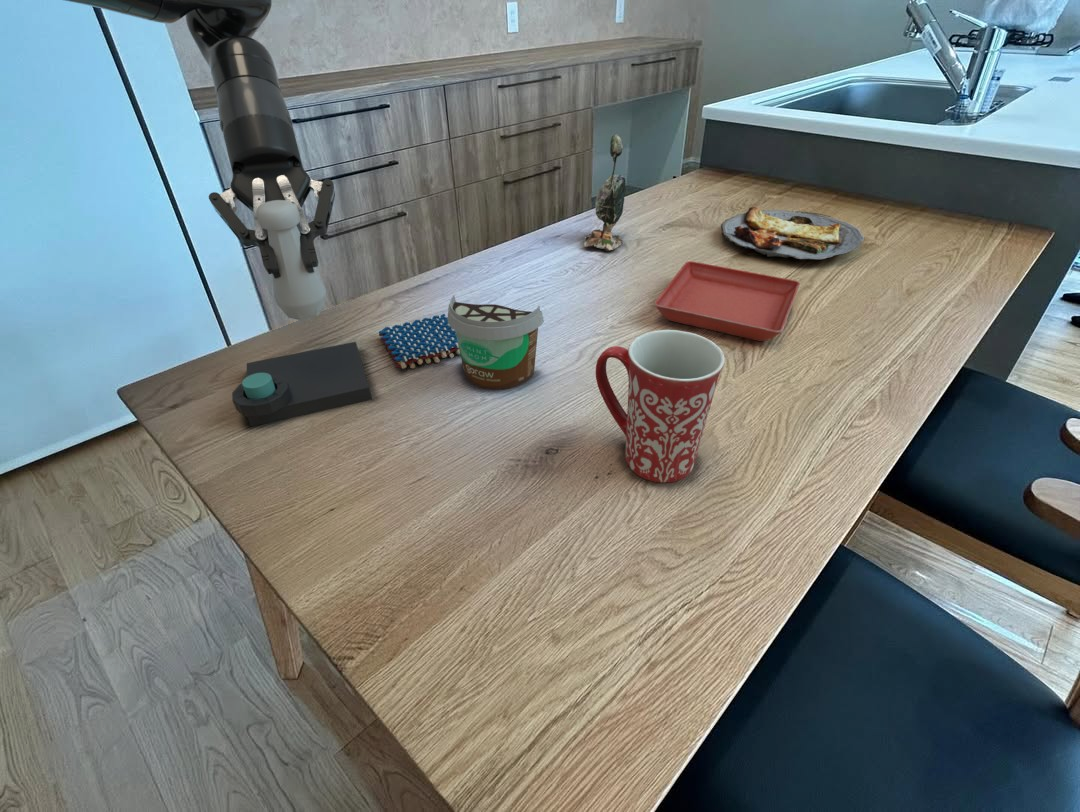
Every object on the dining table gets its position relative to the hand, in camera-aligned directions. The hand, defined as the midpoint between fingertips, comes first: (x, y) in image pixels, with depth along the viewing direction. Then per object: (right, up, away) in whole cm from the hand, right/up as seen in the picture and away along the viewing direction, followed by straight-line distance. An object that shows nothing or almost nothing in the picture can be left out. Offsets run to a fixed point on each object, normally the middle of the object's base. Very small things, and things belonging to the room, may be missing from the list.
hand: (293, 272), depth 66 cm
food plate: (+75, +16, +47) cm, 90 cm away
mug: (+39, -20, -2) cm, 44 cm away
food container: (+22, -12, +10) cm, 27 cm away
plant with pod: (+40, +17, +48) cm, 65 cm away
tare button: (-5, -13, +3) cm, 15 cm away
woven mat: (+11, -7, +17) cm, 22 cm away
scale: (-2, -13, +9) cm, 16 cm away
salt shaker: (-1, -4, +5) cm, 6 cm away
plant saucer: (+56, -1, +24) cm, 61 cm away
